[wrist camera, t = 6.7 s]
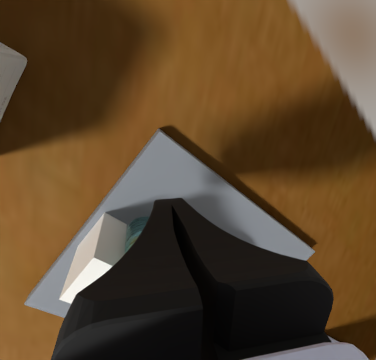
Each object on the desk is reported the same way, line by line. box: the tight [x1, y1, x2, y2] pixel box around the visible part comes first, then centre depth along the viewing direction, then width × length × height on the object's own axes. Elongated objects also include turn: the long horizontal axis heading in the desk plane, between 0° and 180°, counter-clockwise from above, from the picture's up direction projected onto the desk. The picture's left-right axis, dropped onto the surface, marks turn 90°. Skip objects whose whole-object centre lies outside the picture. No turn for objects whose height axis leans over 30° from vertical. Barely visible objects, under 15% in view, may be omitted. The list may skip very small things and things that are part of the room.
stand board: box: [24, 128, 315, 318], centre depth 18 cm, size 16×15×1 cm
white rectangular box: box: [59, 212, 127, 304], centre depth 13 cm, size 2×3×4 cm, turn 140°
